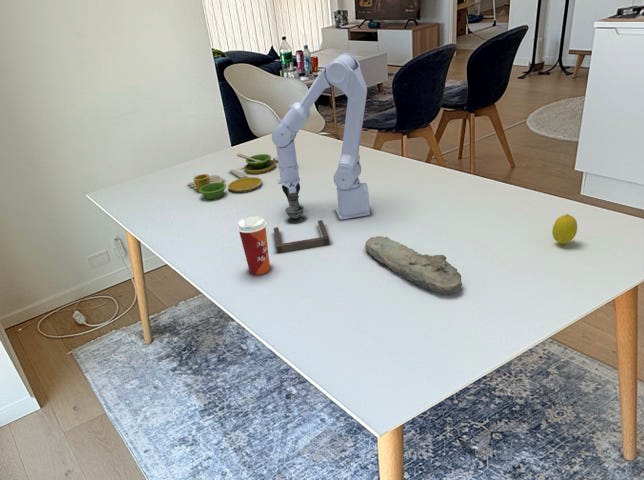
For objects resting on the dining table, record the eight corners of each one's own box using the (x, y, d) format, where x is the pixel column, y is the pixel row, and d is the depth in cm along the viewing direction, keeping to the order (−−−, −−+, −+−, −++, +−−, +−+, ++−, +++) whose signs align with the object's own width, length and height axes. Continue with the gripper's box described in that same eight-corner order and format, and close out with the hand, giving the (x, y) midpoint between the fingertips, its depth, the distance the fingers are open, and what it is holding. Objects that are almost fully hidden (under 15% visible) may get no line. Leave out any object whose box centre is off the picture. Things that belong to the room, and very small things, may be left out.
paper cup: (270, 276, 151) (261, 227, 142) (242, 277, 152) (232, 228, 144) (276, 262, 157) (268, 214, 148) (250, 263, 158) (240, 216, 150)
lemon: (573, 239, 144) (579, 209, 140) (574, 249, 140) (580, 219, 136) (550, 239, 146) (554, 209, 142) (550, 248, 142) (555, 218, 137)
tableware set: (278, 158, 232) (276, 142, 228) (310, 174, 211) (308, 157, 207) (183, 185, 221) (179, 169, 217) (207, 205, 200) (203, 187, 196)
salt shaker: (286, 217, 181) (280, 180, 174) (304, 214, 181) (299, 177, 174) (287, 225, 176) (282, 187, 169) (306, 221, 176) (301, 184, 169)
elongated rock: (386, 244, 159) (356, 258, 156) (384, 227, 156) (353, 240, 153) (475, 286, 132) (441, 302, 129) (474, 265, 129) (439, 282, 126)
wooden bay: (323, 226, 172) (322, 219, 171) (329, 244, 161) (328, 238, 160) (274, 233, 172) (273, 227, 171) (277, 253, 161) (276, 246, 160)
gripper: (273, 160, 180) (279, 201, 188) (276, 174, 168) (283, 217, 176) (295, 156, 180) (300, 197, 188) (300, 170, 168) (305, 214, 176)
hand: (293, 207), depth 182 cm, fingers closed
